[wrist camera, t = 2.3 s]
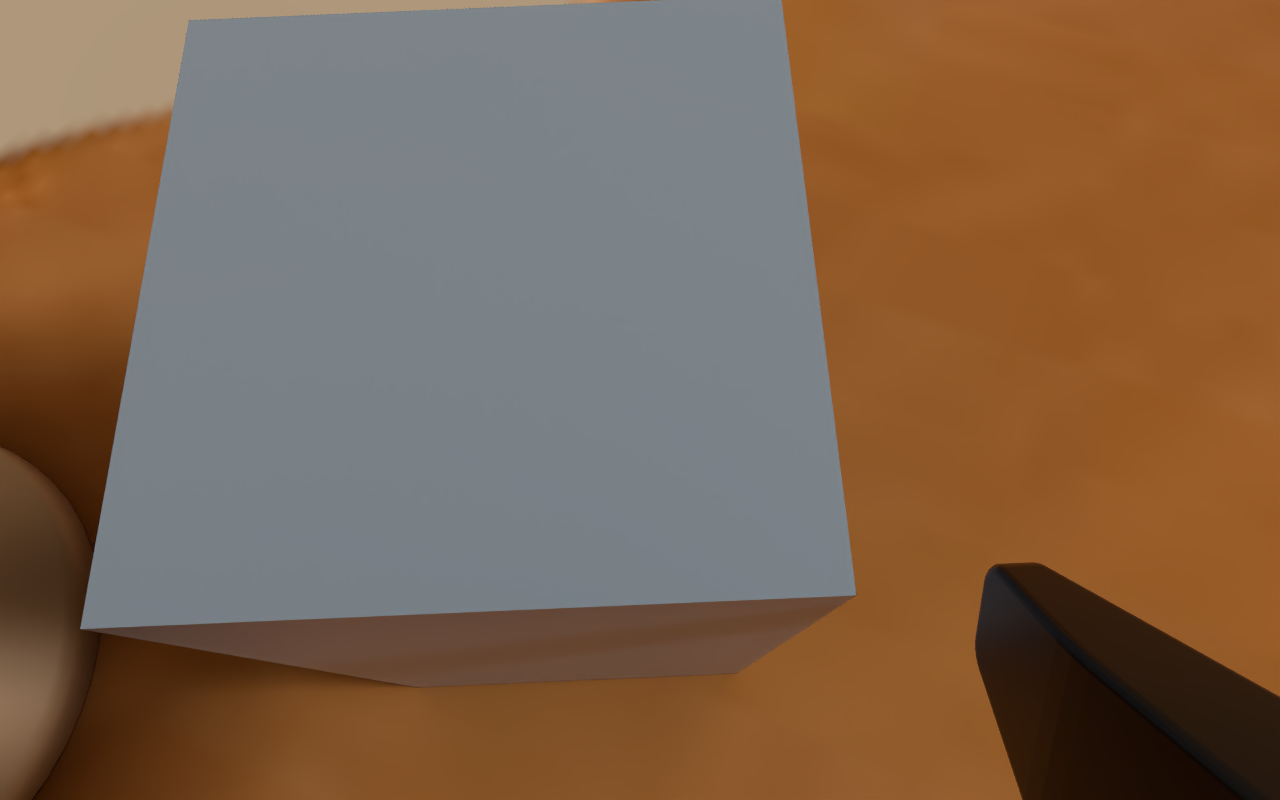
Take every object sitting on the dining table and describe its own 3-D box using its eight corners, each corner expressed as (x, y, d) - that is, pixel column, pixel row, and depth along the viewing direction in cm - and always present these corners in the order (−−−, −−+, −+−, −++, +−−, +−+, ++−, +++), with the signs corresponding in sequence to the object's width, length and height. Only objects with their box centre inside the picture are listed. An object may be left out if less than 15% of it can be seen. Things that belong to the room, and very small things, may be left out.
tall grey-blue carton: (736, 673, 18) (855, 595, 7) (416, 687, 18) (79, 629, 7) (714, 376, 20) (780, -5, 9) (430, 388, 20) (189, 20, 9)
